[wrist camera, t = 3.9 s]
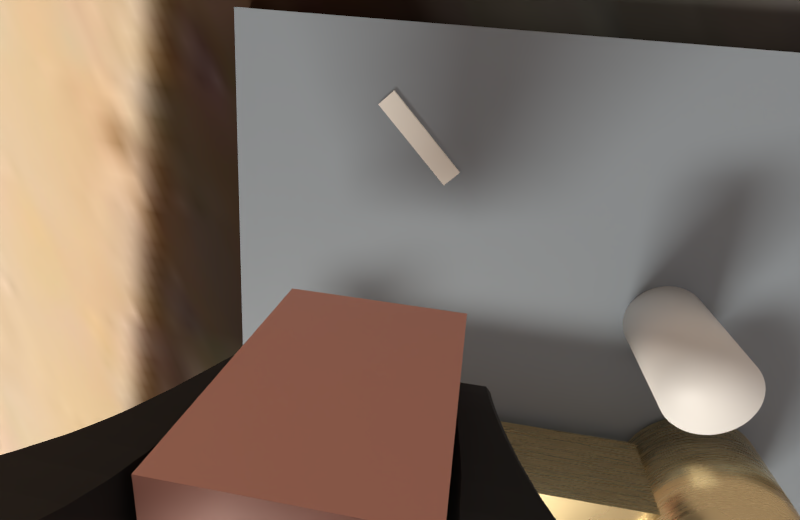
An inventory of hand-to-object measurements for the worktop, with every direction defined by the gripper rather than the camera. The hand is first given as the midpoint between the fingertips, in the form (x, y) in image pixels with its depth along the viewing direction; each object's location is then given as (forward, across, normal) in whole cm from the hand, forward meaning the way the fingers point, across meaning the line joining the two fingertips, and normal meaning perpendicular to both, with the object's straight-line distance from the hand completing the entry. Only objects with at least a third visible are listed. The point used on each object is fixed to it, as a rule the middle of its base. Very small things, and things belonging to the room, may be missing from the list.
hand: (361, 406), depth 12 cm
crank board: (+7, -4, +1) cm, 9 cm away
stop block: (+1, 0, 0) cm, 1 cm away
